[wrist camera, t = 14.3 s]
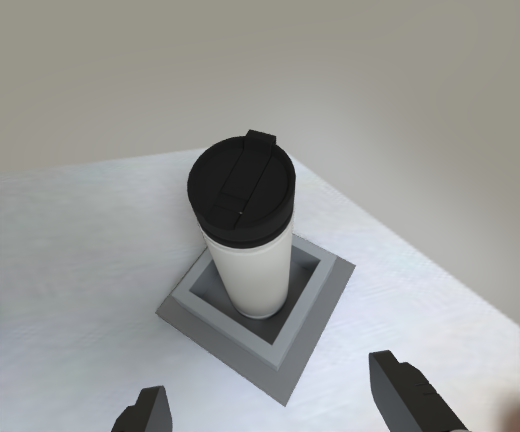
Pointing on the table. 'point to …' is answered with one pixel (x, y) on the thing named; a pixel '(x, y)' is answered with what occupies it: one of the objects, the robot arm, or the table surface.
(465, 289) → the table surface
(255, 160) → the travel mug
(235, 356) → the mug dock
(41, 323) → the table surface
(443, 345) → the table surface
